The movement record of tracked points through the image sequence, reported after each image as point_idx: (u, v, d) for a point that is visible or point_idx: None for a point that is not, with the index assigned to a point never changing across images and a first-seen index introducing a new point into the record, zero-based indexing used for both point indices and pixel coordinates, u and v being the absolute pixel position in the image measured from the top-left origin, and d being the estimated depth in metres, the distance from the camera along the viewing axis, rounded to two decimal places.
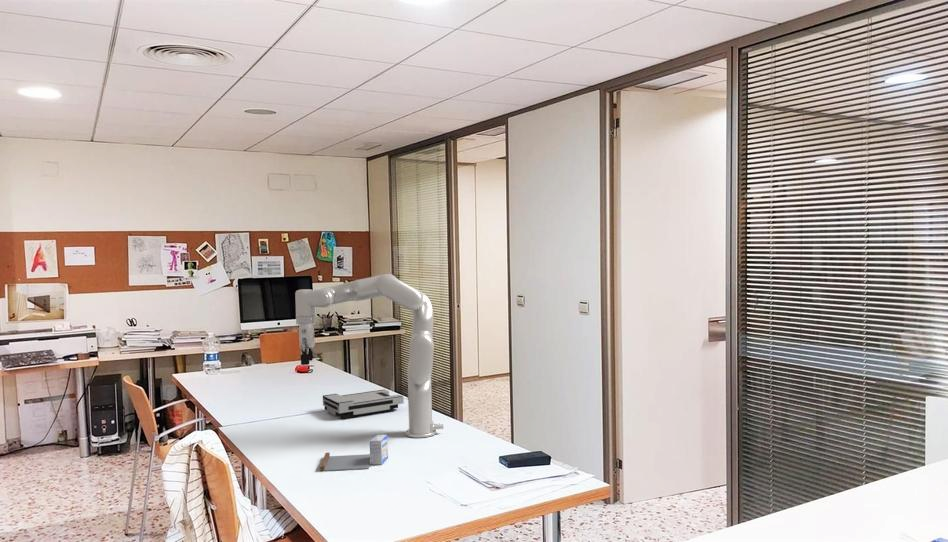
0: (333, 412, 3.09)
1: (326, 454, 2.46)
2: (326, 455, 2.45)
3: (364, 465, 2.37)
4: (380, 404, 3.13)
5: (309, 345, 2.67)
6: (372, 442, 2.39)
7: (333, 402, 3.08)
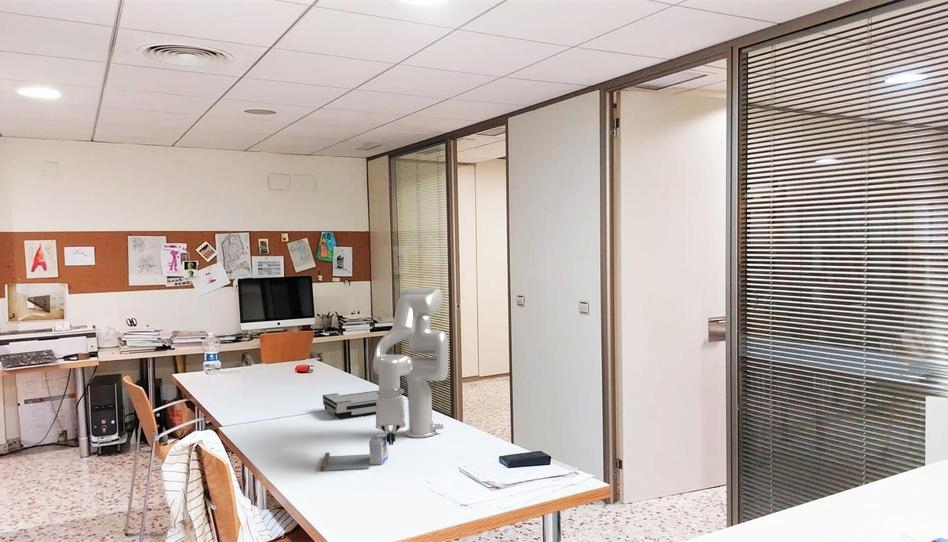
0: (332, 412, 3.09)
1: (326, 454, 2.46)
2: (326, 455, 2.45)
3: (364, 465, 2.37)
4: None
5: None
6: (372, 442, 2.39)
7: (332, 402, 3.09)
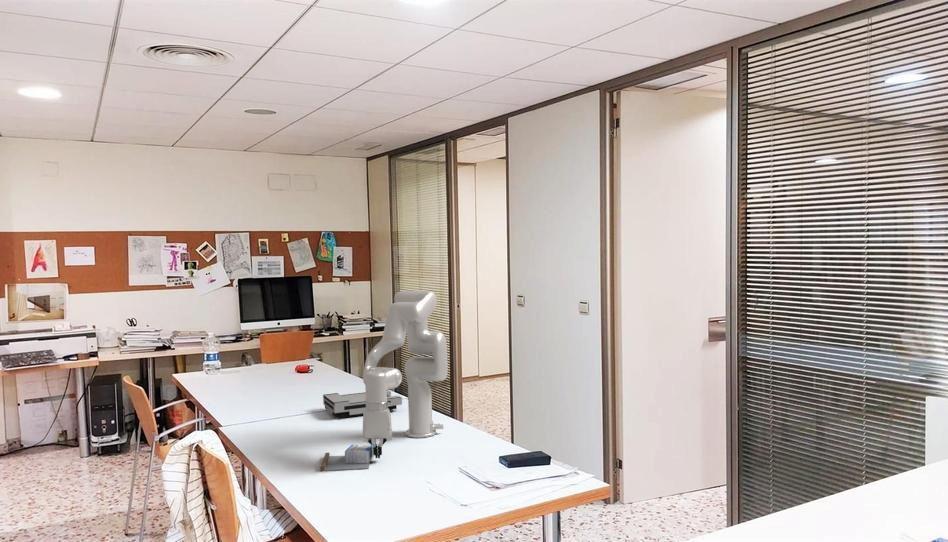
0: (330, 411, 3.10)
1: (326, 454, 2.46)
2: (326, 455, 2.45)
3: (364, 465, 2.37)
4: None
5: (391, 430, 2.44)
6: (346, 459, 2.40)
7: (330, 402, 3.09)
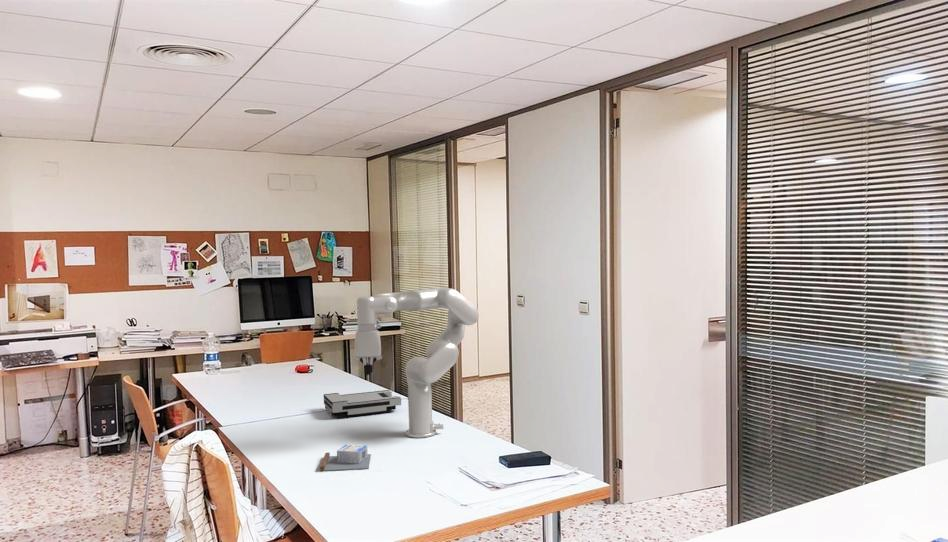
0: (329, 411, 3.11)
1: (326, 454, 2.46)
2: (326, 455, 2.45)
3: (364, 465, 2.37)
4: (376, 405, 3.12)
5: None
6: (338, 459, 2.40)
7: (329, 401, 3.10)
